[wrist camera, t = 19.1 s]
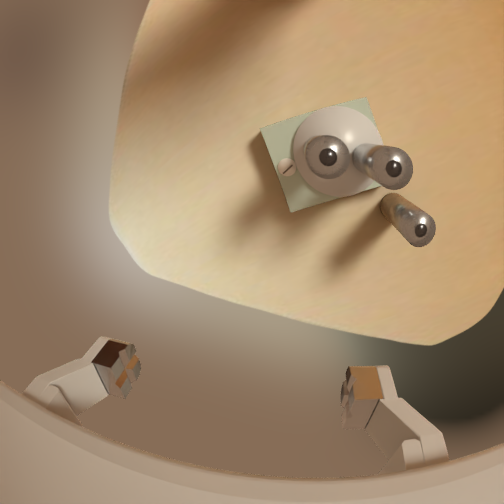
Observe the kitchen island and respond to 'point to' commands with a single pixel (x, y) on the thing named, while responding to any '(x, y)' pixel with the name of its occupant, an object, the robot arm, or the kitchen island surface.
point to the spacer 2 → (383, 164)
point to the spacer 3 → (408, 219)
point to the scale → (293, 161)
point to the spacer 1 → (326, 156)
